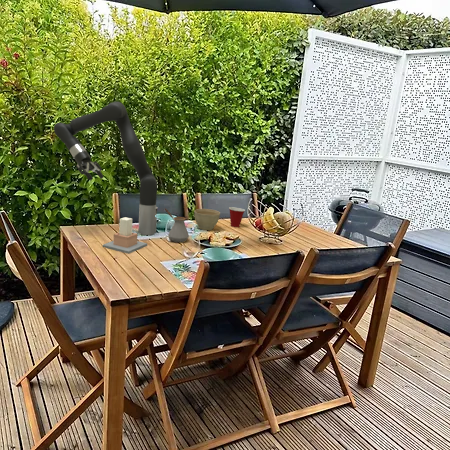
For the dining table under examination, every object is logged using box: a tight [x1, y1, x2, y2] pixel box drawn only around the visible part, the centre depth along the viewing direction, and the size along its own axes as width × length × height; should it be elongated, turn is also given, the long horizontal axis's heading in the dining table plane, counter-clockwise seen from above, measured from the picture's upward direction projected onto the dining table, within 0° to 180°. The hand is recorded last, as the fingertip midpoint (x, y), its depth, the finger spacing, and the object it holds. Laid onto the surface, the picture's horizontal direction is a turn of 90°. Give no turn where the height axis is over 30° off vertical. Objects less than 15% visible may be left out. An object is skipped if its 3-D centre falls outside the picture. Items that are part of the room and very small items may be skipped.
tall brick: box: [118, 216, 133, 236], centre depth 207 cm, size 4×4×10 cm
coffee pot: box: [162, 207, 190, 243], centre depth 229 cm, size 21×12×15 cm, turn 41°
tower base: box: [102, 231, 148, 255], centre depth 209 cm, size 16×16×7 cm
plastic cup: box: [228, 206, 246, 228], centre depth 267 cm, size 11×11×12 cm
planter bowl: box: [193, 208, 221, 231], centre depth 255 cm, size 16×16×11 cm
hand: (97, 178), depth 217 cm, fingers open, 8 cm apart
